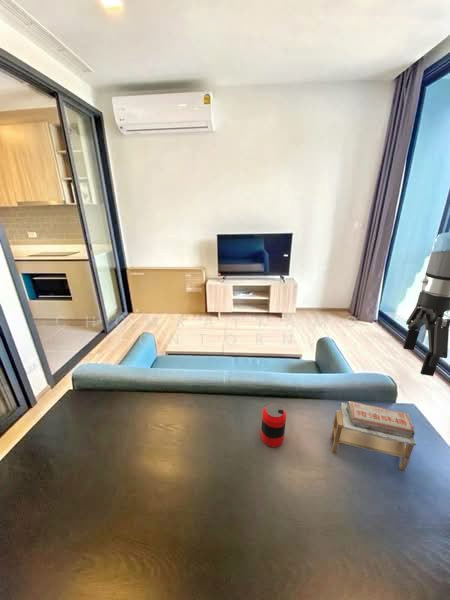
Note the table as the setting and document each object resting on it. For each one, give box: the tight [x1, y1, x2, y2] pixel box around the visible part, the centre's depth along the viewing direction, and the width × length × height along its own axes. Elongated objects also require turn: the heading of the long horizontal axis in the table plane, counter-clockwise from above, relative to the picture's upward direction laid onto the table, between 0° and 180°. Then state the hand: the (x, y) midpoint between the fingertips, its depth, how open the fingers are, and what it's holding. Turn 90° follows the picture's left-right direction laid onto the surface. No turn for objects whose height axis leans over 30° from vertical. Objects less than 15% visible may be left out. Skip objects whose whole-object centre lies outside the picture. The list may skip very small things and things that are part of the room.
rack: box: [330, 409, 417, 472], centre depth 77 cm, size 20×6×12 cm, turn 73°
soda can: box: [260, 403, 287, 448], centre depth 82 cm, size 8×8×12 cm
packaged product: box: [341, 400, 417, 447], centre depth 74 cm, size 18×5×10 cm
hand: (416, 360), depth 74 cm, fingers open, 13 cm apart
